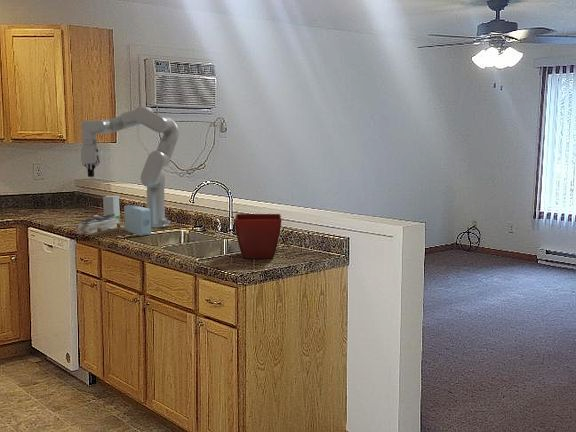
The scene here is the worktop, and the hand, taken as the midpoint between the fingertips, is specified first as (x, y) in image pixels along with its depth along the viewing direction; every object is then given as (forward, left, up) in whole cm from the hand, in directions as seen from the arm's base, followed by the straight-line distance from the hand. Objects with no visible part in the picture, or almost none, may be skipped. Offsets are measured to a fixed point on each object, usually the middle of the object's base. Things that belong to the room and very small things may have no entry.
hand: (91, 176), depth 380 cm
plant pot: (-125, +46, -27) cm, 136 cm away
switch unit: (-17, +14, -27) cm, 35 cm away
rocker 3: (-16, +6, -22) cm, 27 cm away
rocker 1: (-16, +22, -22) cm, 35 cm away
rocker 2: (-16, +14, -22) cm, 30 cm away
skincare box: (-5, -10, -27) cm, 30 cm away
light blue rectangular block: (-39, +12, -28) cm, 49 cm away
